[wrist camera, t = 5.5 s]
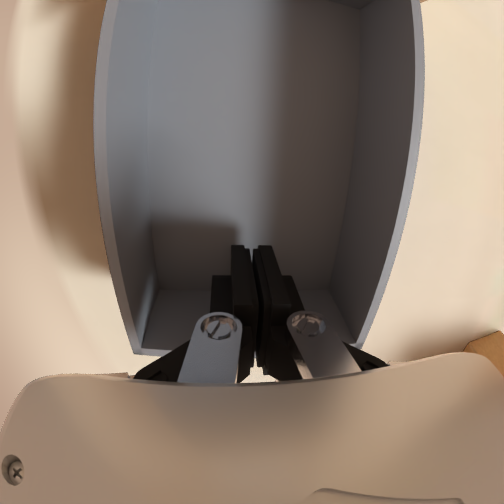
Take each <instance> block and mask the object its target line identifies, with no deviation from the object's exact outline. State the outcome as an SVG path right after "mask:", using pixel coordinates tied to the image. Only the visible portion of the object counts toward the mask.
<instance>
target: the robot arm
mask: <svg viewBox="0 0 504 504" xmlns="http://www.w3.org/2000/svg"><path fill="white" fill-rule="evenodd" d="M255 354H256V361H257V367H262V368H263V375H270V376H272V377H274V378H275V379H276V380H275V382H260V383H240V382H242V381H243V380H244V379H245V378H246V377H247V376H249V375H250V367H253V366H254V356H255ZM0 504H504V377H503V376H502V374H501V373H500V372H499V370H498V369H497V368H496V367H495V366H494V365H493V363H492V362H491V361H490V360H489V359H487V358H486V357H484V356H482V355H479V354H475V353H467V352H454V353H447V354H440V355H436V356H432V357H427V358H422V359H418V360H414V361H389V362H388V364H386V363H385V362H384V361H382V360H381V359H379V358H377V357H375V356H372V355H370V354H368V353H366V352H364V351H362V350H360V349H358V348H356V347H354V346H351V345H349V344H347V343H345V342H343V341H342V340H341V339H340V337H339V336H338V334H337V333H336V331H335V330H334V329H333V327H332V326H331V324H330V323H329V321H328V320H327V319H326V318H325V317H324V316H322V315H321V314H319V313H316V312H313V311H305V309H304V306H303V304H302V301H301V298H300V296H299V293H298V291H297V288H296V285H295V283H294V280H293V278H292V276H291V275H282V274H281V271H280V268H279V265H278V262H277V260H276V257H275V254H274V251H273V248H272V245H258V249H253V256H252V261H251V255H250V249H249V248H245V246H244V245H231V271H230V275H212V286H211V300H210V313H209V314H206V315H204V316H202V317H201V318H200V319H199V320H198V321H197V323H196V325H195V328H194V331H193V334H192V337H191V339H190V340H188V341H187V342H185V343H184V344H182V345H180V346H179V347H177V348H176V349H174V350H172V351H171V352H169V353H167V354H166V355H164V356H162V357H161V358H159V359H157V360H156V361H154V362H152V363H151V364H149V365H147V366H146V367H144V368H142V369H141V370H140V371H138V372H137V373H136V375H131V376H129V374H128V372H126V373H111V374H58V375H51V376H45V377H41V378H38V379H35V380H33V381H31V382H30V383H28V384H27V385H26V386H25V387H24V388H23V389H22V390H21V392H20V393H19V394H18V396H17V398H16V399H15V401H14V403H13V405H12V406H11V408H10V410H9V412H8V415H7V417H6V419H5V421H4V424H3V426H2V429H1V432H0Z"/></svg>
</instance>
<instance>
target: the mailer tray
mask: <svg viewBox="0 0 504 504" xmlns="http://www.w3.org/2000/svg"><path fill="white" fill-rule="evenodd" d="M424 81H425V60H424V36H423V24H422V14H421V6H420V0H107V2H106V6H105V11H104V16H103V21H102V27H101V33H100V39H99V46H98V54H97V63H96V73H95V87H94V116H93V129H94V159H95V174H96V185H97V195H98V203H99V211H100V218H101V225H102V231H103V237H104V243H105V248H106V253H107V259H108V263H109V268H110V273H111V277H112V281H113V285H114V289H115V293H116V297H117V301H118V305H119V308H120V312H121V316H122V319H123V322H124V326H125V329H126V332H127V335H128V338H129V341H130V344H131V347H132V350H133V353H134V354H138V355H149V356H164V355H166V354H167V353H169V352H171V351H172V350H174V349H176V348H177V347H179V346H180V345H182V344H184V343H185V342H187V341H188V340H190V339H191V337H192V334H193V331H194V328H195V325H196V323H197V321H198V320H199V319H200V318H201V317H202V316H204V315H206V314H209V313H210V300H211V286H212V275H230V271H231V245H244V246H245V248H249V249H250V255H251V261H252V256H253V249H258V245H272V248H273V251H274V254H275V257H276V260H277V262H278V265H279V268H280V271H281V274H282V275H291V276H292V278H293V280H294V283H295V285H296V288H297V291H298V293H299V296H300V298H301V301H302V304H303V306H304V309H305V311H313V312H316V313H319V314H321V315H322V316H324V317H325V318H326V319H327V320H328V321H329V323H330V324H331V326H332V327H333V329H334V330H335V331H336V333H337V334H338V336H339V337H340V339H341V340H342V341H343V342H345V343H347V344H349V345H351V346H354V347H356V348H358V349H362V346H363V344H364V342H365V340H366V337H367V335H368V333H369V330H370V328H371V325H372V323H373V320H374V318H375V315H376V313H377V310H378V308H379V305H380V302H381V300H382V297H383V294H384V291H385V288H386V285H387V283H388V280H389V277H390V273H391V270H392V267H393V264H394V261H395V258H396V254H397V251H398V247H399V244H400V240H401V236H402V233H403V229H404V225H405V221H406V217H407V212H408V208H409V204H410V199H411V194H412V189H413V184H414V179H415V173H416V167H417V161H418V154H419V146H420V138H421V129H422V119H423V105H424ZM254 358H256V354H255V356H254Z"/></svg>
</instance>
